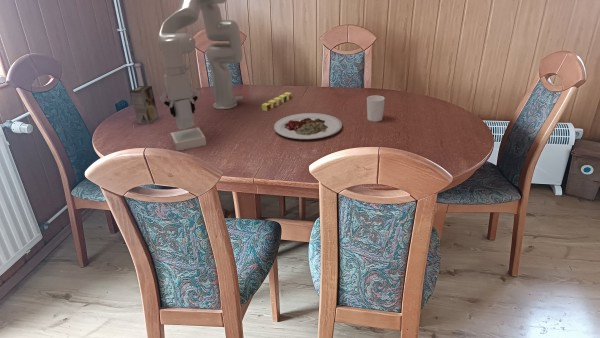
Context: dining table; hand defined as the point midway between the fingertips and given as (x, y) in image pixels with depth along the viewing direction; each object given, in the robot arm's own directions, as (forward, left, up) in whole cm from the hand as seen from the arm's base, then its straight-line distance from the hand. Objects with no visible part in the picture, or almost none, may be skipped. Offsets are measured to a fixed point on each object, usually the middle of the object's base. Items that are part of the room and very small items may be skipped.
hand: (183, 113), depth 165 cm
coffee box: (+11, -38, -13) cm, 42 cm away
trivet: (0, 0, -13) cm, 13 cm away
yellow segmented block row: (-54, -24, -14) cm, 61 cm away
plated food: (-50, +13, -13) cm, 53 cm away
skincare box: (0, 0, -6) cm, 6 cm away
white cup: (-81, +20, -13) cm, 84 cm away
